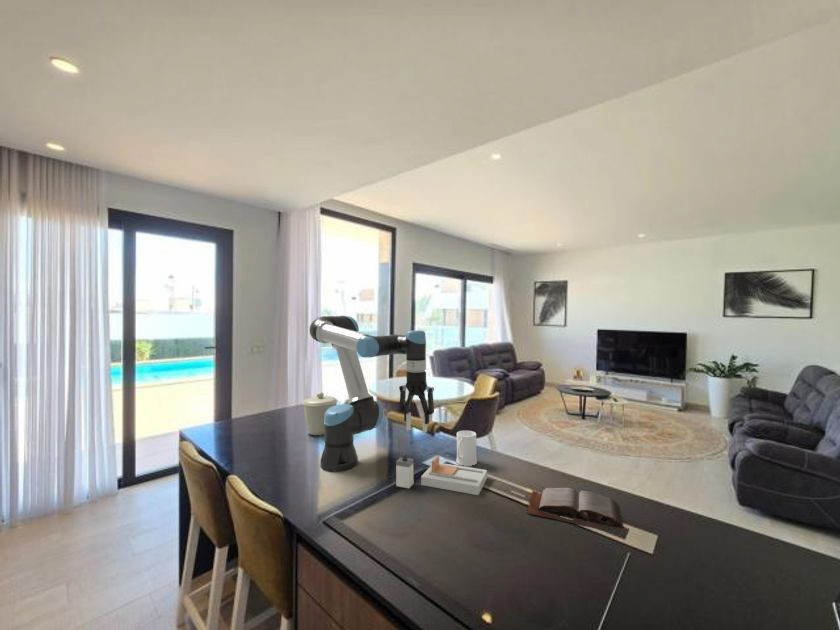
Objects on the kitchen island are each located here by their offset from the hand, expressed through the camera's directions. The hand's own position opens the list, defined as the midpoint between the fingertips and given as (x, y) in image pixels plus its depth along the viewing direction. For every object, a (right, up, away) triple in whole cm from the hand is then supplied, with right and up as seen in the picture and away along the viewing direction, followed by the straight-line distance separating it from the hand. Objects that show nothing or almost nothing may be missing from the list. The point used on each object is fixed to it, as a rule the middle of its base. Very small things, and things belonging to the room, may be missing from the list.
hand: (416, 431), depth 141 cm
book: (+51, -18, -25) cm, 59 cm away
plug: (-4, -17, -8) cm, 19 cm away
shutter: (+10, -14, -4) cm, 18 cm away
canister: (-51, -17, +52) cm, 74 cm away
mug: (+20, -17, +10) cm, 28 cm away
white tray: (+14, -17, -6) cm, 23 cm away
